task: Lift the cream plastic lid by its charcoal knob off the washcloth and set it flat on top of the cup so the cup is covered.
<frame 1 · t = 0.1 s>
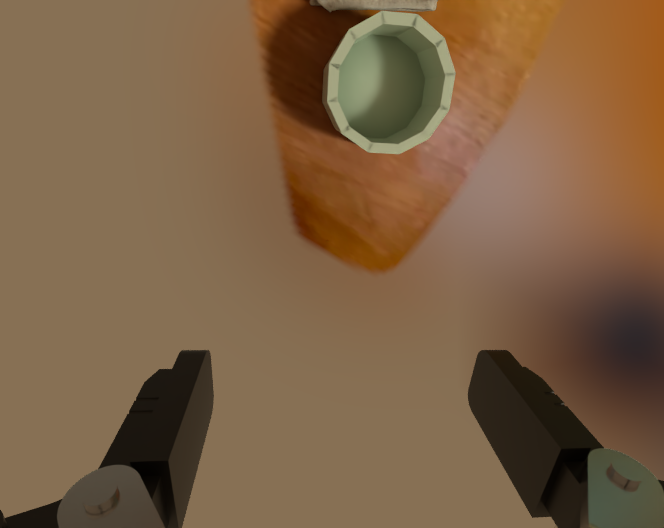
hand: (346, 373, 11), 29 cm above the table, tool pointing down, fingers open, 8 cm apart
cup: (376, 89, 35), on the table
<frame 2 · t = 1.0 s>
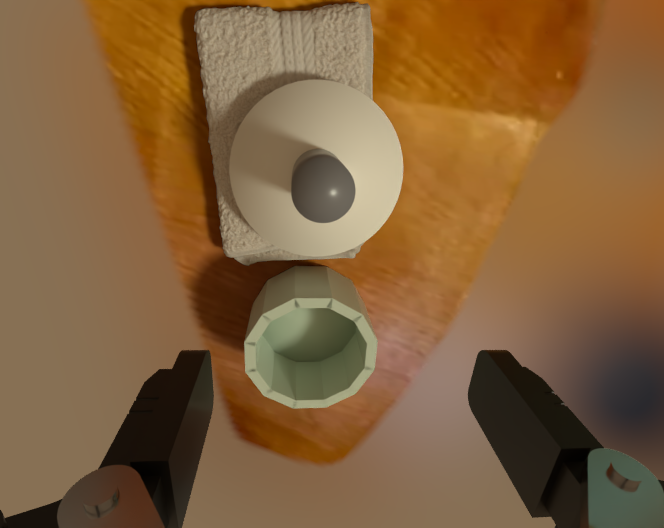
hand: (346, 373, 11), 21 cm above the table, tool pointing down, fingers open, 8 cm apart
washcloth: (291, 145, 29), on the table, touching lid
cup: (309, 316, 34), on the table
lid: (317, 173, 27), point 2 cm above the table, touching washcloth
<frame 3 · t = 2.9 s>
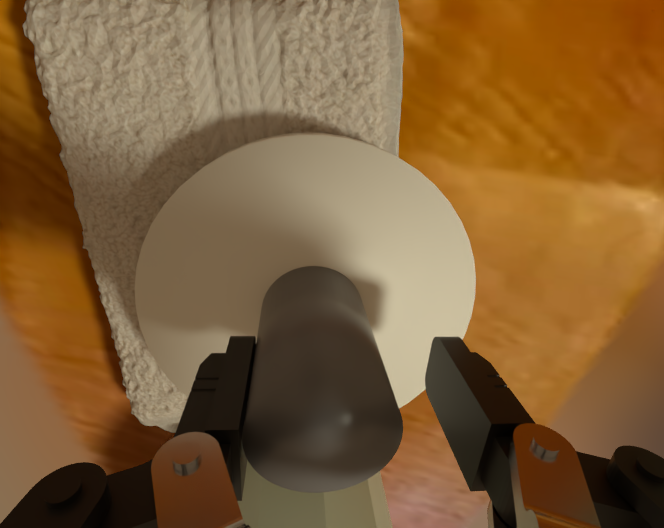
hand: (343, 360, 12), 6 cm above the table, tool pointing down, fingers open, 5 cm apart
washcloth: (250, 235, 17), on the table, touching lid
cup: (291, 480, 22), on the table
lid: (311, 296, 15), point 2 cm above the table, touching washcloth
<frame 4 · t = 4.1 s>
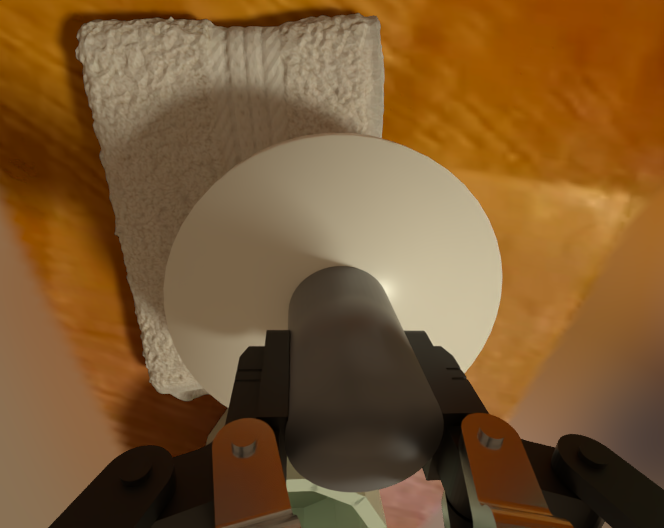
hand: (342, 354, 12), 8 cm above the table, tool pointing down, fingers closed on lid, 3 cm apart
washcloth: (255, 227, 19), on the table
cup: (288, 449, 24), on the table
lid: (335, 295, 15), point 5 cm above the table, touching gripper
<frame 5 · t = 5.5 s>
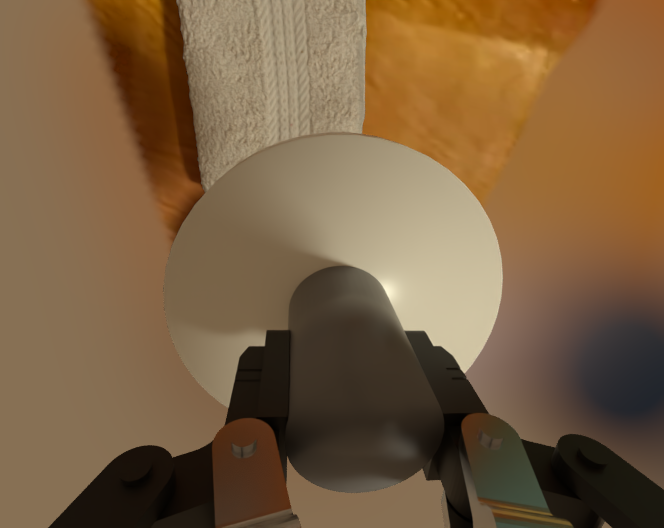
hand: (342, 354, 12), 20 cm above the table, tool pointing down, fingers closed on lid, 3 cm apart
washcloth: (276, 71, 27), on the table
lid: (335, 295, 15), point 17 cm above the table, touching gripper
when the fingers open (10 cm above the table, at t = 8.0 s): lid drops 1 cm, resting on cup.
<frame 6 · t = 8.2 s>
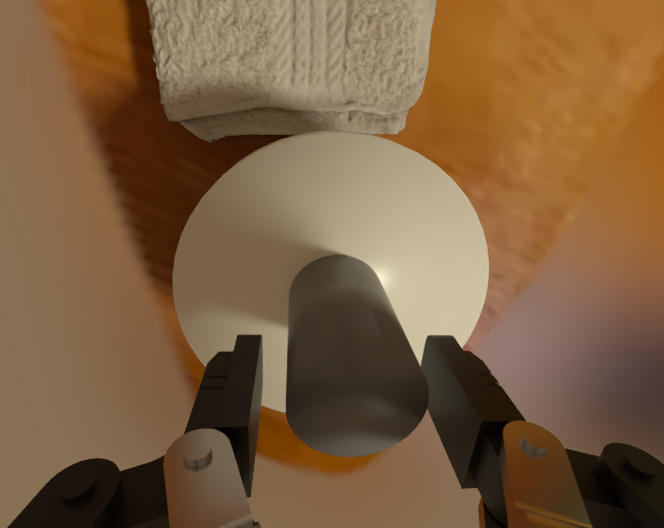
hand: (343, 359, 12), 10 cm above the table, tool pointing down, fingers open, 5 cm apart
lid: (333, 284, 15), point 6 cm above the table, touching cup
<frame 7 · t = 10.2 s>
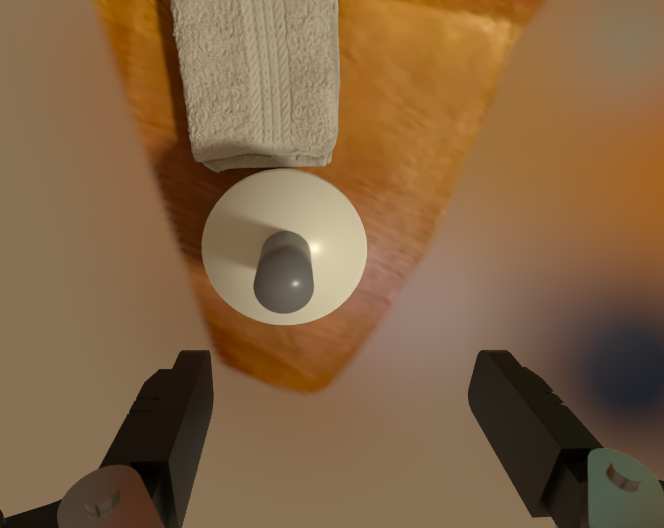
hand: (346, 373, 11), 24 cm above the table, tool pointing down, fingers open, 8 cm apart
washcloth: (259, 49, 29), on the table
lid: (286, 248, 29), point 6 cm above the table, touching cup
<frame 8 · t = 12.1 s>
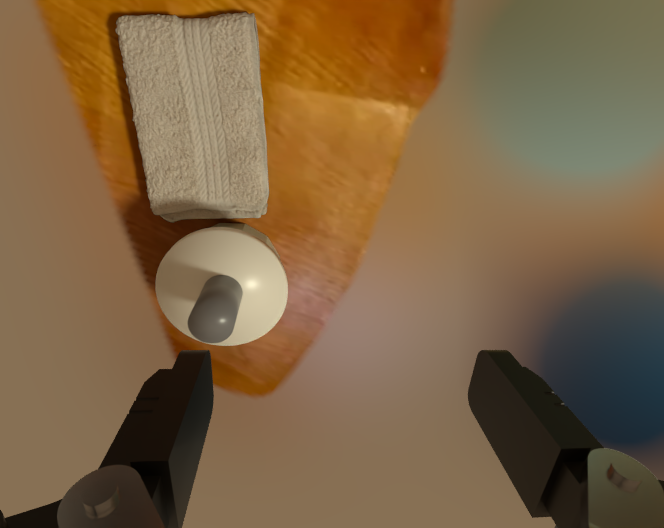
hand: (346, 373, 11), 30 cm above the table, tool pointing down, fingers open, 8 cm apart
washcloth: (205, 125, 36), on the table
cup: (234, 266, 42), on the table
lid: (225, 286, 36), point 6 cm above the table, touching cup
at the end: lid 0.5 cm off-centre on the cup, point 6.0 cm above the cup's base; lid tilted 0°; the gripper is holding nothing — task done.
